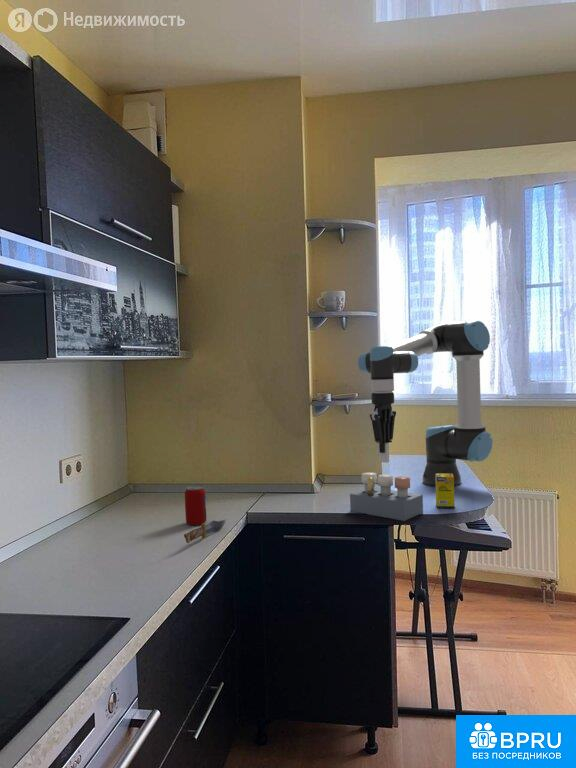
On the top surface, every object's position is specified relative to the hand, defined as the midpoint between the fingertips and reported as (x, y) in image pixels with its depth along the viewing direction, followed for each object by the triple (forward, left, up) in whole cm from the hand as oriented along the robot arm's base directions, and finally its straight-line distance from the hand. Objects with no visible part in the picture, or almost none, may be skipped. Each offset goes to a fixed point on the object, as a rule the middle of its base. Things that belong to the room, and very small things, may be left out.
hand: (384, 461), depth 195 cm
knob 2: (0, 0, -13) cm, 13 cm away
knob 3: (0, +7, -13) cm, 15 cm away
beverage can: (+46, -44, -17) cm, 66 cm away
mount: (0, 0, -17) cm, 17 cm away
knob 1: (0, -6, -13) cm, 15 cm away
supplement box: (-17, +13, -17) cm, 28 cm away
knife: (+54, -29, -17) cm, 64 cm away
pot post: (+4, -3, -11) cm, 12 cm away
